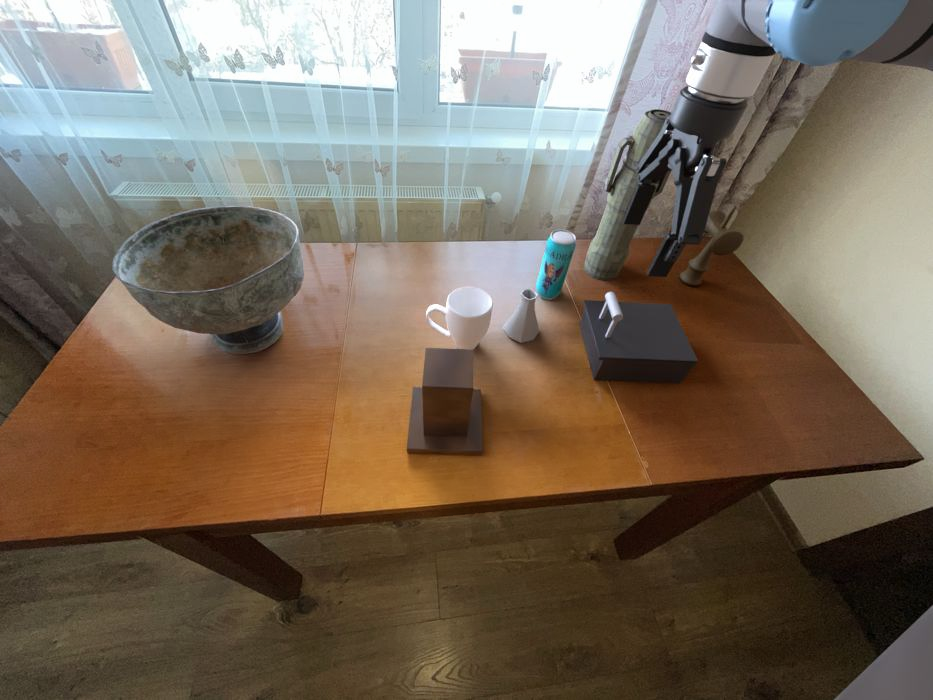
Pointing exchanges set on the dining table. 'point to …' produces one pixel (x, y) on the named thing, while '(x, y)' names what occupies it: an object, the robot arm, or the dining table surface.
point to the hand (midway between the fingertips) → (642, 247)
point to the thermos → (623, 199)
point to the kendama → (713, 246)
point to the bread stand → (446, 406)
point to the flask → (523, 318)
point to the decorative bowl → (216, 273)
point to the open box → (630, 365)
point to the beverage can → (555, 263)
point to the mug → (464, 316)
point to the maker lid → (637, 332)
